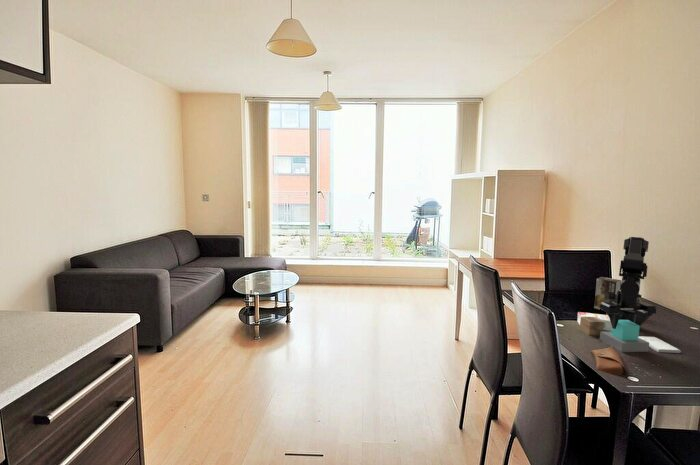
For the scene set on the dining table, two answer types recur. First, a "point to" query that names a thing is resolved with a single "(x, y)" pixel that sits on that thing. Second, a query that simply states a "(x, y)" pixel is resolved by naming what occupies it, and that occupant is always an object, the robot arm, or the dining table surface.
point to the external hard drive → (660, 345)
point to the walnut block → (591, 325)
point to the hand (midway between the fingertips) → (625, 328)
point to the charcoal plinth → (624, 343)
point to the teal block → (626, 330)
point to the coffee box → (605, 289)
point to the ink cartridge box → (601, 317)
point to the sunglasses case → (608, 361)
